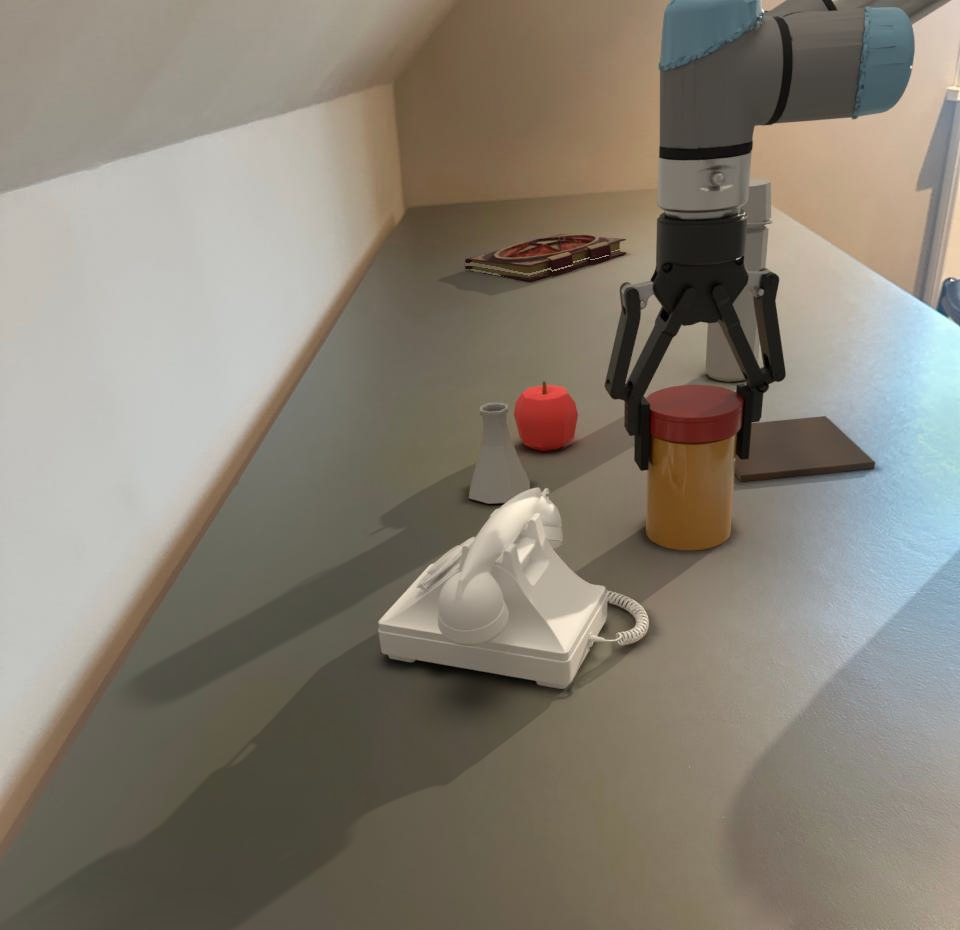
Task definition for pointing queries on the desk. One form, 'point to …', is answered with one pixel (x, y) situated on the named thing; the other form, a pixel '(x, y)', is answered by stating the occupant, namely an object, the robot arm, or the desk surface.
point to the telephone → (506, 602)
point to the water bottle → (718, 349)
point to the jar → (690, 492)
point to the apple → (545, 417)
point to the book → (549, 255)
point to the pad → (799, 450)
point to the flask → (497, 460)
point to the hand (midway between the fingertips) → (690, 459)
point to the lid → (695, 413)
